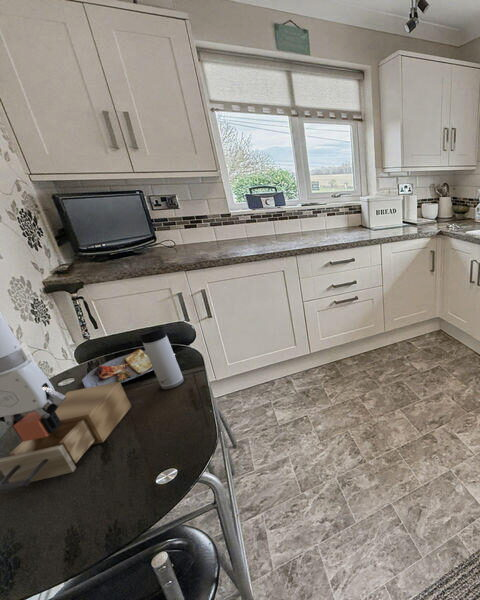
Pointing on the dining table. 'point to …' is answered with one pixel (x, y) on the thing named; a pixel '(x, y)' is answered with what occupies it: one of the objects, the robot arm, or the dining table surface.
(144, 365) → the food plate
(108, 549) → the dining table surface
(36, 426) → the block
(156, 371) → the travel mug
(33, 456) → the drawer
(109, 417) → the cabinet
